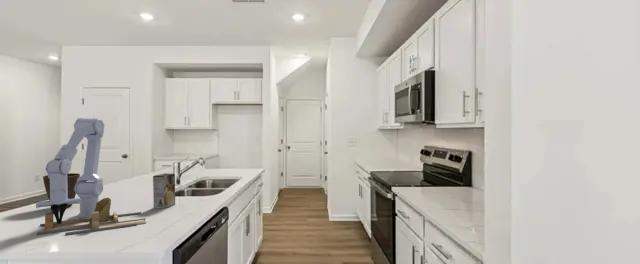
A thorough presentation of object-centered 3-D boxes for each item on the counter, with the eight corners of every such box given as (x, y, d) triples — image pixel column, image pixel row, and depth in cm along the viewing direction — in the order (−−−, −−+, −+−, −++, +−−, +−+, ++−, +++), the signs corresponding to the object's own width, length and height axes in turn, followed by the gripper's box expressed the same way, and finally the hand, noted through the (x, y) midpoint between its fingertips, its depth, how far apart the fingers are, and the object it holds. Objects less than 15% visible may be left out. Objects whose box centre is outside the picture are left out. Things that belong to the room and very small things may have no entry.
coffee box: (164, 203, 187) (164, 173, 187) (175, 204, 186) (175, 173, 185) (152, 207, 178) (152, 175, 178) (164, 208, 177) (164, 176, 176)
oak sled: (45, 225, 147) (45, 210, 146) (116, 217, 160) (116, 203, 160) (43, 233, 137) (43, 217, 137) (118, 223, 151) (118, 208, 151)
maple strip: (91, 227, 144) (91, 211, 144) (144, 220, 155) (144, 205, 155) (92, 230, 141) (91, 214, 140) (145, 223, 151) (145, 207, 151)
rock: (94, 220, 144) (118, 212, 153) (84, 203, 146) (109, 195, 154) (85, 233, 149) (109, 224, 158) (76, 216, 151) (100, 208, 159)
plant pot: (38, 208, 176) (37, 175, 176) (72, 202, 189) (72, 172, 188) (50, 212, 168) (49, 178, 167) (85, 206, 180) (85, 174, 180)
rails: (40, 225, 146) (40, 224, 146) (140, 213, 167) (140, 211, 167) (34, 239, 130) (34, 237, 130) (147, 223, 150) (147, 222, 150)
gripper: (34, 193, 137) (35, 228, 137) (80, 189, 145) (81, 222, 145) (36, 190, 142) (37, 224, 143) (80, 186, 150) (81, 219, 151)
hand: (59, 223), depth 144 cm, fingers closed
